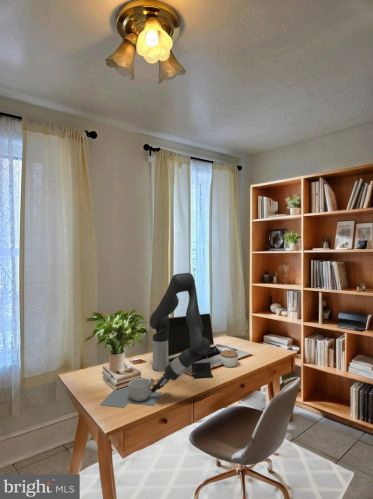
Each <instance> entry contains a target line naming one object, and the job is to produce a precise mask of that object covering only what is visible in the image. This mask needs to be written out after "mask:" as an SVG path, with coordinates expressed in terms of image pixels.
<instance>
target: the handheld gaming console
mask: <svg viewBox="0 0 373 499" xmlns="http://www.w3.org/2000/svg"><path fill="white" fill-rule="evenodd" d="M191 371H192V373H195V374H193V375H192V377H193V380H196V379H198V380H200V379H213V378H214V375H213V374H212V369H211V362H193V364H191ZM192 373H191V374H192Z"/></svg>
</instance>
